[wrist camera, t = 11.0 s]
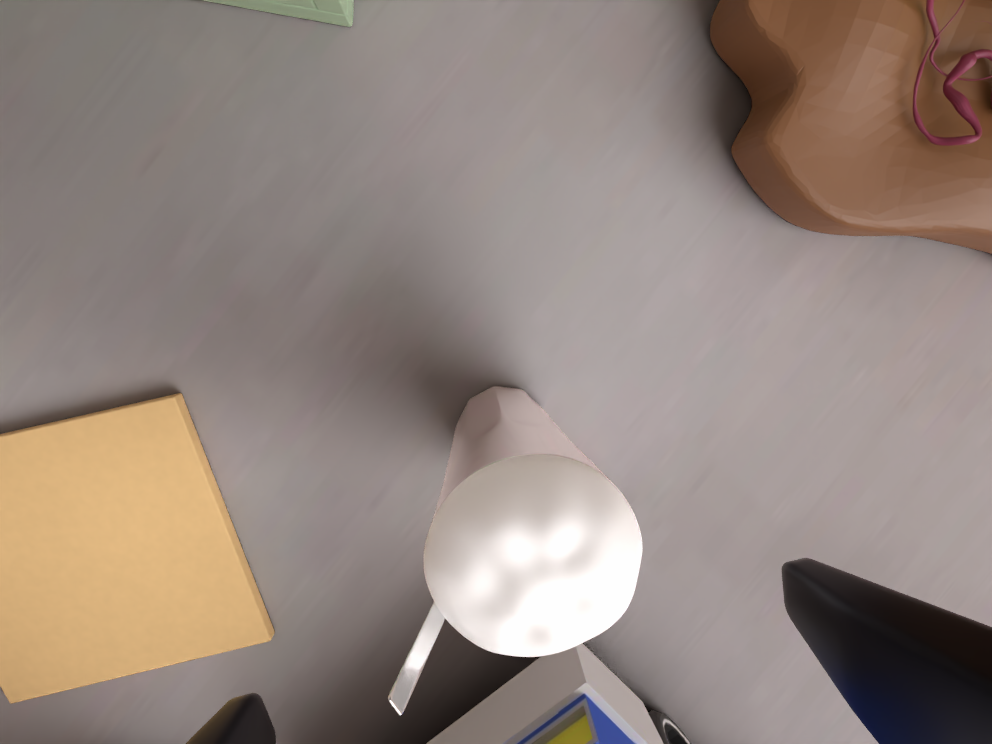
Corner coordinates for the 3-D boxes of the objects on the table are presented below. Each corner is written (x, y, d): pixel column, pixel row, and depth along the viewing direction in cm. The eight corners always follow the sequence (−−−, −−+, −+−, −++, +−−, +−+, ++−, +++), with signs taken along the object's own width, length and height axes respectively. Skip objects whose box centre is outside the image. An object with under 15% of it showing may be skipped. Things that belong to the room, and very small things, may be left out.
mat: (275, 631, 19) (270, 641, 19) (21, 693, 19) (9, 704, 19) (182, 392, 17) (174, 396, 16) (-111, 459, 17) (-128, 465, 16)
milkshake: (395, 415, 18) (319, 610, 8) (528, 344, 17) (617, 457, 8) (457, 514, 19) (456, 794, 9) (582, 449, 19) (720, 664, 9)
